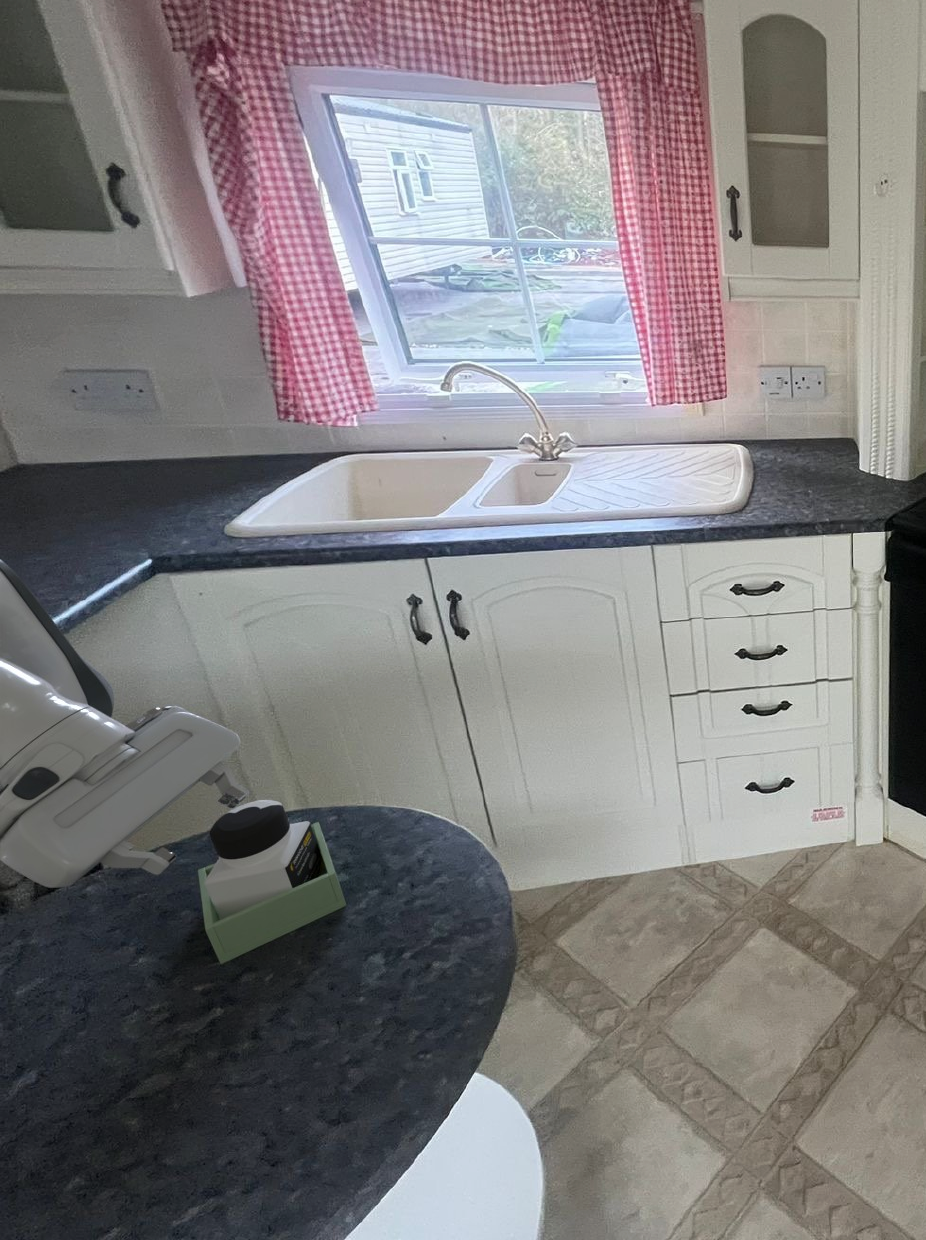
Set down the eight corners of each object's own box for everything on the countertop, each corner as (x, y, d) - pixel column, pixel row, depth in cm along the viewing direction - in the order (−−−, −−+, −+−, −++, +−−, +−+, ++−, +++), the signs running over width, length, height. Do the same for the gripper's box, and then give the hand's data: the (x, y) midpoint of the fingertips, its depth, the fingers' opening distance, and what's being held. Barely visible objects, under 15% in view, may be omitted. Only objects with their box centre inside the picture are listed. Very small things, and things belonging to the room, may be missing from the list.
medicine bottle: (304, 913, 86) (272, 830, 82) (223, 931, 84) (186, 847, 79) (326, 865, 92) (298, 785, 88) (251, 881, 90) (219, 800, 86)
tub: (220, 964, 81) (205, 930, 80) (212, 902, 88) (197, 869, 86) (346, 905, 89) (335, 873, 87) (329, 852, 95) (318, 821, 94)
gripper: (150, 715, 90) (265, 782, 94) (-53, 852, 71) (102, 927, 75) (179, 683, 88) (294, 752, 93) (-20, 813, 69) (136, 892, 74)
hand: (207, 831), depth 84 cm, fingers open, 8 cm apart
